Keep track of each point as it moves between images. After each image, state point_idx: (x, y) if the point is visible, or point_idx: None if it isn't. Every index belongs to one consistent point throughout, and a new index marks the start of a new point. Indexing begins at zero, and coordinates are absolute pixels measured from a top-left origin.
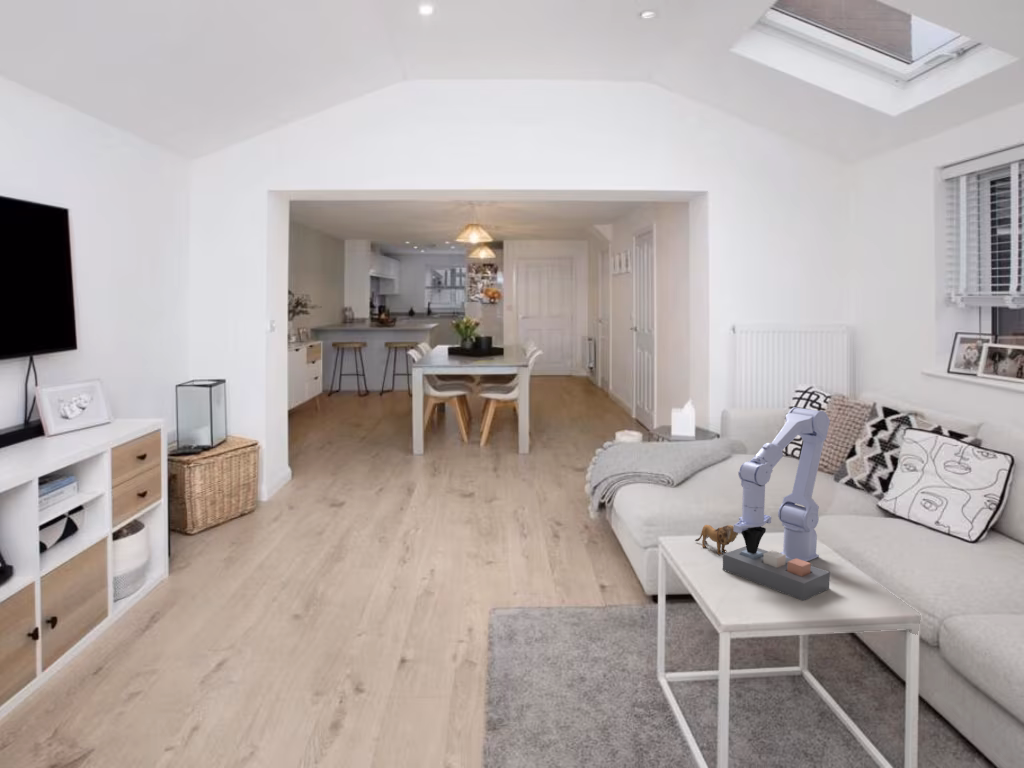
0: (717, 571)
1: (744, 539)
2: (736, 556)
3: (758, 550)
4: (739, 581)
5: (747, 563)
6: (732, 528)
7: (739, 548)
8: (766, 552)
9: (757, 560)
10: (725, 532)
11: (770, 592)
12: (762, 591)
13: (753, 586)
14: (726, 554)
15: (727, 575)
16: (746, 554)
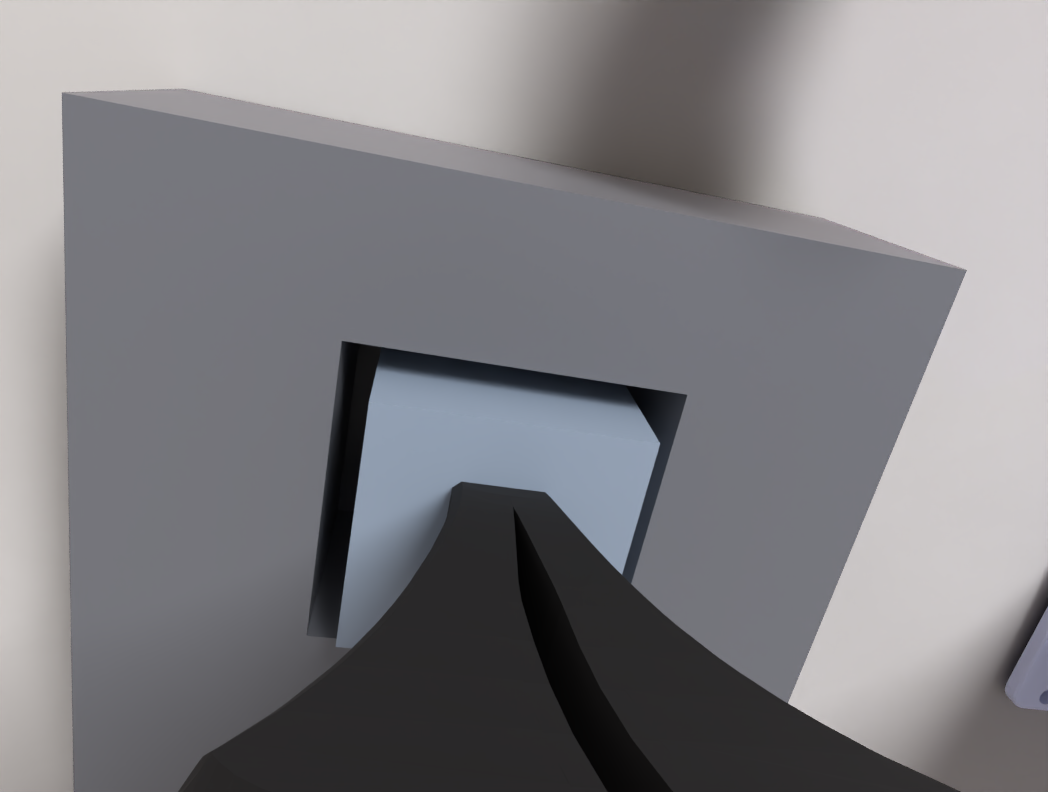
0: (43, 57)
1: (395, 608)
2: (186, 371)
3: (766, 510)
4: (14, 457)
5: (73, 626)
6: None
7: (654, 215)
8: (754, 624)
9: (310, 681)
10: None
11: (57, 782)
12: (4, 730)
13: (35, 623)
14: (107, 166)
15: (46, 252)
16: (357, 501)
